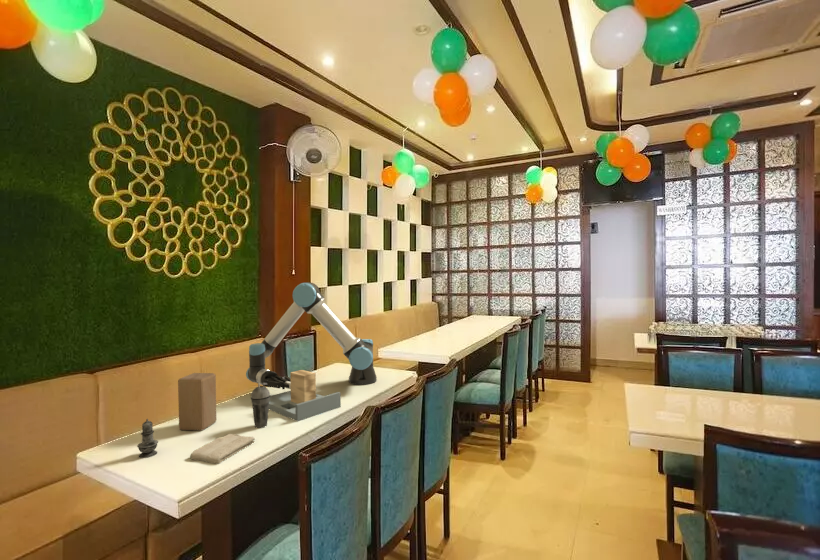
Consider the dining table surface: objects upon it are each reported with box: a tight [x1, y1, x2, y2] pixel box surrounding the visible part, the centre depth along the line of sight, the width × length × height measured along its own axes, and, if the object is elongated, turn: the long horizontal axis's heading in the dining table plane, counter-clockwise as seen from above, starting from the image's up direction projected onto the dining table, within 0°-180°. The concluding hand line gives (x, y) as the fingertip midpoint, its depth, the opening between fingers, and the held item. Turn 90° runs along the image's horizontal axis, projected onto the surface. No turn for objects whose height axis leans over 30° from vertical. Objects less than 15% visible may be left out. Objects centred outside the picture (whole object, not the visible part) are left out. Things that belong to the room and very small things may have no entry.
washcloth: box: [189, 433, 256, 465], centre depth 137 cm, size 12×18×3 cm, turn 162°
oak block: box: [289, 369, 317, 404], centre depth 180 cm, size 6×10×13 cm, turn 51°
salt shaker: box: [136, 418, 159, 459], centre depth 135 cm, size 6×6×12 cm
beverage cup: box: [250, 376, 271, 429], centre depth 158 cm, size 7×7×20 cm
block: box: [177, 372, 218, 431], centre depth 159 cm, size 10×10×20 cm
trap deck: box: [268, 390, 342, 422], centre depth 182 cm, size 22×32×6 cm
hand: (294, 386), depth 182 cm, fingers closed
